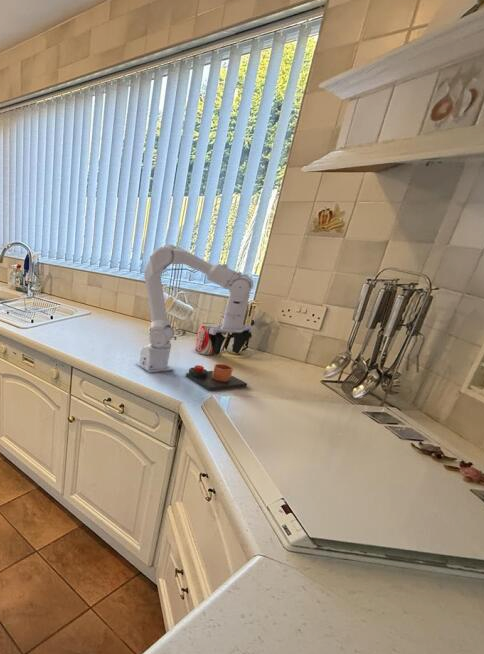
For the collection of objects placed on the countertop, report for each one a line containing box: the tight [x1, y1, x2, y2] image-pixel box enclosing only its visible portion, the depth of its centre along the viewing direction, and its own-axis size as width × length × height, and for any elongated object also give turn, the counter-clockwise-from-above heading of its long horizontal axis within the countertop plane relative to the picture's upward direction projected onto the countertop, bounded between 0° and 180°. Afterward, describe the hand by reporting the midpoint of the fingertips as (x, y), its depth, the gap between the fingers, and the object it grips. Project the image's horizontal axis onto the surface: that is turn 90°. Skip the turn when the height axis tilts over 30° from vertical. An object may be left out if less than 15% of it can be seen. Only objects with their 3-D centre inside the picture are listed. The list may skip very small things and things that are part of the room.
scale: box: [185, 366, 248, 392], centre depth 136 cm, size 14×13×3 cm
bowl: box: [212, 363, 234, 382], centre depth 134 cm, size 5×5×4 cm
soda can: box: [194, 322, 219, 356], centre depth 160 cm, size 7×7×12 cm
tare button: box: [194, 364, 205, 372], centre depth 137 cm, size 3×3×2 cm
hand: (225, 353), depth 132 cm, fingers open, 7 cm apart
